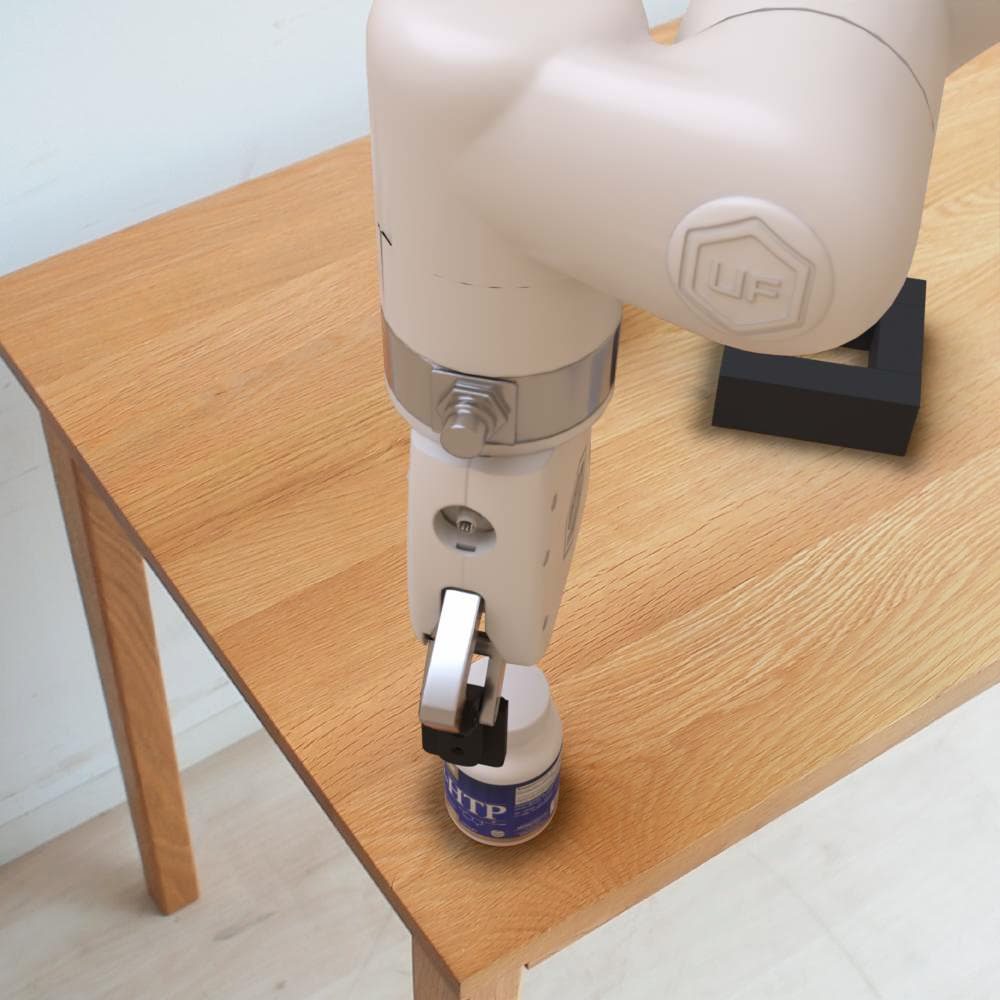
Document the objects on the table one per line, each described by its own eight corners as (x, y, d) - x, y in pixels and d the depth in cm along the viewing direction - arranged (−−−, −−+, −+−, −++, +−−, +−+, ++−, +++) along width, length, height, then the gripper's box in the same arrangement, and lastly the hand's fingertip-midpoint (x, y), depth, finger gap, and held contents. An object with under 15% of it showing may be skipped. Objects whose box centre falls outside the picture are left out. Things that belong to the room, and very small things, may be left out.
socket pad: (904, 456, 82) (920, 406, 79) (711, 425, 83) (719, 374, 80) (912, 330, 89) (926, 279, 86) (734, 303, 90) (742, 253, 87)
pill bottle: (421, 801, 67) (413, 692, 60) (498, 730, 70) (498, 619, 63) (505, 872, 65) (506, 767, 58) (582, 796, 67) (591, 688, 61)
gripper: (562, 568, 40) (539, 863, 53) (659, 197, 51) (620, 514, 64) (302, 518, 41) (341, 819, 54) (453, 165, 52) (456, 484, 65)
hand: (493, 653), depth 59 cm, fingers open, 9 cm apart
